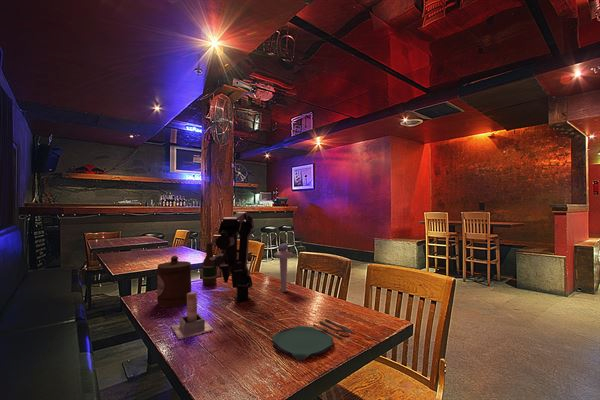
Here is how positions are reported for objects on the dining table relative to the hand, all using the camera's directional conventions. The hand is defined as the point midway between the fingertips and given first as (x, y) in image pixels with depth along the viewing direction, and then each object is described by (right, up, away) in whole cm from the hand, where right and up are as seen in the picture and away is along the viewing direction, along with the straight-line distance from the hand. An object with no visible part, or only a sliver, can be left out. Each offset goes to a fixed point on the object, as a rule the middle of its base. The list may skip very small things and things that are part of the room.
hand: (230, 284), depth 120 cm
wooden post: (-11, -12, -13) cm, 21 cm away
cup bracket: (-11, -13, -13) cm, 21 cm away
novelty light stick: (+21, -13, +33) cm, 41 cm away
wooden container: (-30, -13, +17) cm, 37 cm away
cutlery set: (+34, -14, -21) cm, 42 cm away
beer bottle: (-23, -14, +46) cm, 53 cm away
